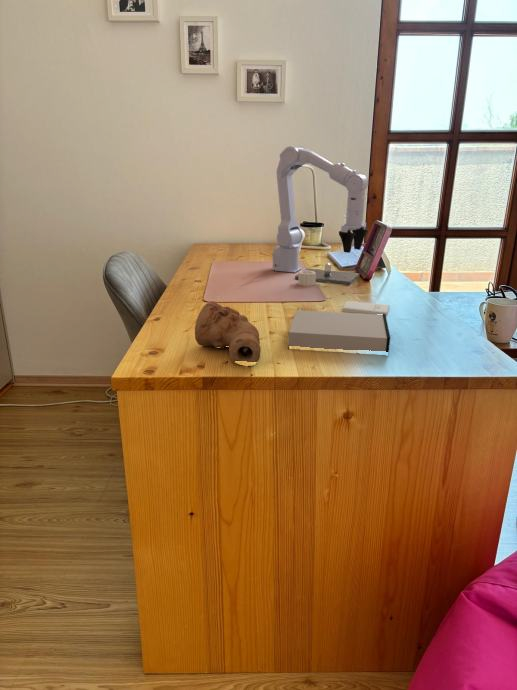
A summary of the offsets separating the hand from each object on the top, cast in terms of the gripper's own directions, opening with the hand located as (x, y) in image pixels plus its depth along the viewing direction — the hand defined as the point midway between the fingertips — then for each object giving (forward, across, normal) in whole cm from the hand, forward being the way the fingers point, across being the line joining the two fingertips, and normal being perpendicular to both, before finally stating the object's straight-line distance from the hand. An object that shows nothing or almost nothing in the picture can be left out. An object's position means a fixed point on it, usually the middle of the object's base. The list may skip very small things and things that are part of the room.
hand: (352, 250), depth 178 cm
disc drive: (+10, -59, -29) cm, 66 cm away
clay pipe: (+10, -82, -13) cm, 83 cm away
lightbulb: (+10, +28, +42) cm, 51 cm away
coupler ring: (+10, -17, +8) cm, 21 cm away
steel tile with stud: (+10, -4, +7) cm, 13 cm away
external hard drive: (+11, -32, -22) cm, 40 cm away
